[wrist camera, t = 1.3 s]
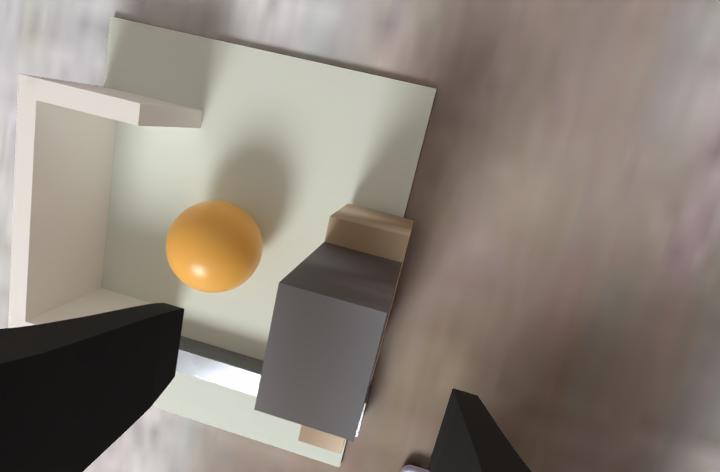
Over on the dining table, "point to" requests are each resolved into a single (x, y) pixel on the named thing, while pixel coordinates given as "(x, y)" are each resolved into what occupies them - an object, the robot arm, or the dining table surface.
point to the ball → (214, 246)
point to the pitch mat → (246, 186)
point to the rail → (224, 367)
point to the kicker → (333, 326)
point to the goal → (69, 194)
